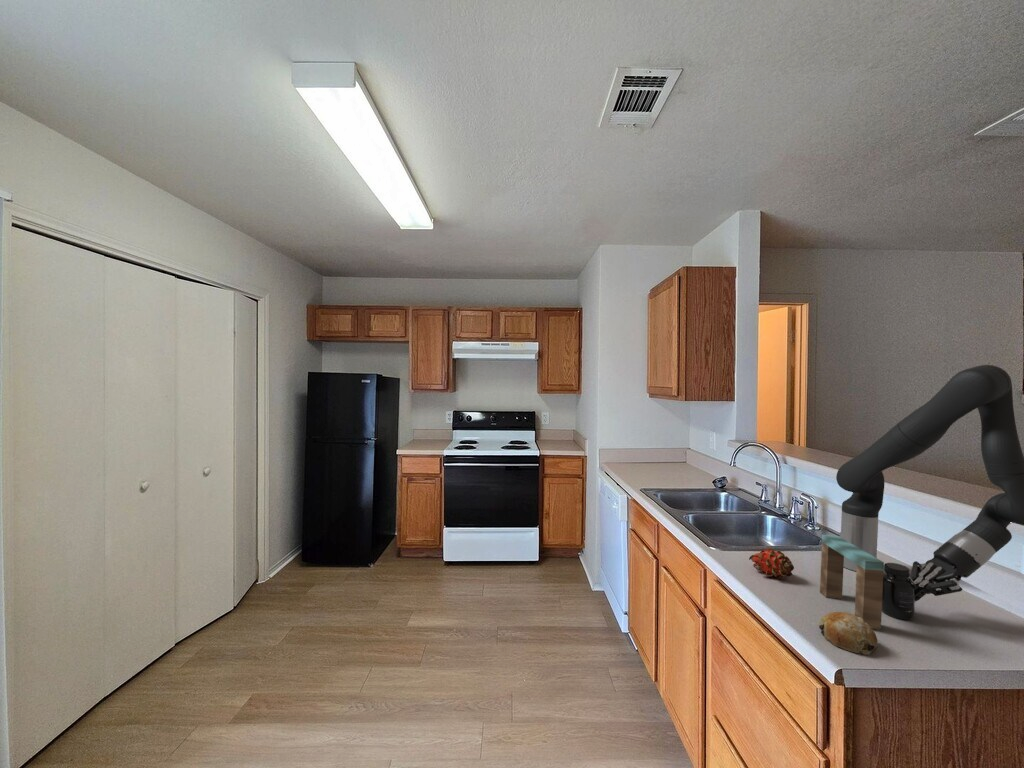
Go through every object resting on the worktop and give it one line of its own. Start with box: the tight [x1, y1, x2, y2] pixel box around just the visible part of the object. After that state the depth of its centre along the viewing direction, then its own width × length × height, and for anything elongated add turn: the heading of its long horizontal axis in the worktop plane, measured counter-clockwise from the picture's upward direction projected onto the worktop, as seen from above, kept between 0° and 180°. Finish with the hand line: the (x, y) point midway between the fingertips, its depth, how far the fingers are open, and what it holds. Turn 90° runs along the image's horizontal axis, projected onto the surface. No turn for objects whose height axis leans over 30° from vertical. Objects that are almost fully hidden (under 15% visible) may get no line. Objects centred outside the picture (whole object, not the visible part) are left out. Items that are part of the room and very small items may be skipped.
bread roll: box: [817, 611, 878, 656], centre depth 100 cm, size 10×10×8 cm
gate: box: [819, 534, 885, 631], centre depth 115 cm, size 18×4×16 cm, turn 173°
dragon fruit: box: [748, 547, 795, 579], centre depth 134 cm, size 8×8×12 cm
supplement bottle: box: [882, 562, 916, 621], centre depth 113 cm, size 7×7×12 cm
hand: (908, 598), depth 113 cm, fingers closed
